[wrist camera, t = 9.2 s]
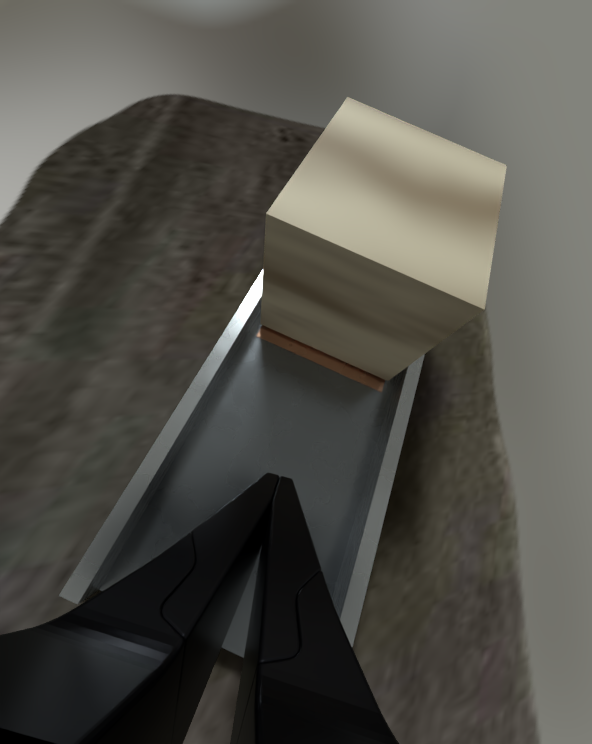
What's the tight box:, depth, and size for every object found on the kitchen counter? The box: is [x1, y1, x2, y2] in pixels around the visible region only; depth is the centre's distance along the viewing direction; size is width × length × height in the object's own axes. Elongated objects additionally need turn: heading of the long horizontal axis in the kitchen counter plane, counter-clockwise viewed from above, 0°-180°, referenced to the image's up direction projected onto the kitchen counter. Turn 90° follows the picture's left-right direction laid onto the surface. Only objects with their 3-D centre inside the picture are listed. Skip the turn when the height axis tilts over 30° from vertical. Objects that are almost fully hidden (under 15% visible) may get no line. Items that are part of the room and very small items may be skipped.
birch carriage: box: [260, 97, 507, 381], centre depth 16 cm, size 10×9×8 cm
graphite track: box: [59, 270, 425, 658], centre depth 17 cm, size 29×12×4 cm, turn 157°
